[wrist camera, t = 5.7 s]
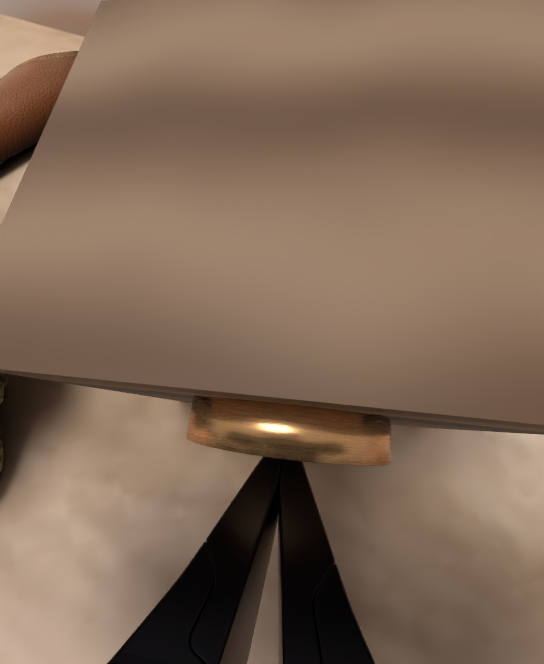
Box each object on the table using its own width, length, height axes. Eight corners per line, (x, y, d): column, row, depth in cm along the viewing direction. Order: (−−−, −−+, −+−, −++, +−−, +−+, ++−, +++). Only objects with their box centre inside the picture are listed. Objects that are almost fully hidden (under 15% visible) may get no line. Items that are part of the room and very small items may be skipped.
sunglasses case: (84, 57, 28) (49, -14, 22) (133, 124, 30) (114, 76, 24) (-80, 157, 26) (-172, 111, 20) (-18, 222, 28) (-84, 200, 22)
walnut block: (422, 427, 15) (759, 447, 4) (178, 400, 17) (-61, 363, 6) (414, 238, 19) (585, -39, 8) (211, 232, 21) (101, 0, 9)
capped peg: (365, 448, 12) (430, 478, 6) (218, 431, 13) (144, 441, 7) (368, 209, 15) (410, 72, 9) (252, 207, 16) (223, 80, 10)
